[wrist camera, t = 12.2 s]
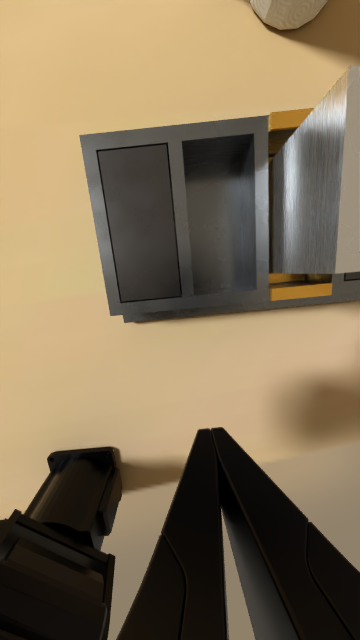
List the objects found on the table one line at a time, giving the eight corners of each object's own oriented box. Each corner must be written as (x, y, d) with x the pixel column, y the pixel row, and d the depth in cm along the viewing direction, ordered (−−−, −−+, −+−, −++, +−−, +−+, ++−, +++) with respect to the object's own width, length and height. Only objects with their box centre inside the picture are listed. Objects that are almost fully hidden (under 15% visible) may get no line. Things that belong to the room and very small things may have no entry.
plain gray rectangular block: (260, 273, 17) (335, 273, 9) (260, 173, 15) (349, 66, 7) (298, 269, 17) (407, 266, 9) (301, 169, 15) (436, 57, 7)
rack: (126, 320, 18) (112, 333, 14) (100, 150, 16) (73, 107, 12) (364, 297, 18) (417, 304, 14) (381, 121, 15) (454, 66, 11)
